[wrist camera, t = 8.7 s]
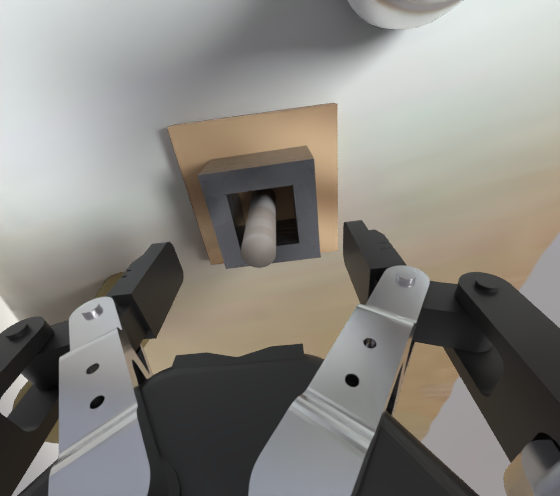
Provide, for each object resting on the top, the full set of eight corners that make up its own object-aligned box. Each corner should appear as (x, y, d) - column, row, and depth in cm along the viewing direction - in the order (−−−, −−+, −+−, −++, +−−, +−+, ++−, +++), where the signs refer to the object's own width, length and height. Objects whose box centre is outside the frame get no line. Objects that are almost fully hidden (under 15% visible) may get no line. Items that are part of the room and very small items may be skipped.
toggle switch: (334, 242, 21) (364, 319, 14) (214, 256, 22) (185, 337, 15) (333, 102, 16) (379, 115, 9) (173, 124, 16) (98, 153, 9)
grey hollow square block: (306, 145, 16) (314, 158, 13) (313, 230, 19) (320, 257, 16) (211, 159, 16) (197, 175, 13) (233, 240, 19) (226, 268, 16)
